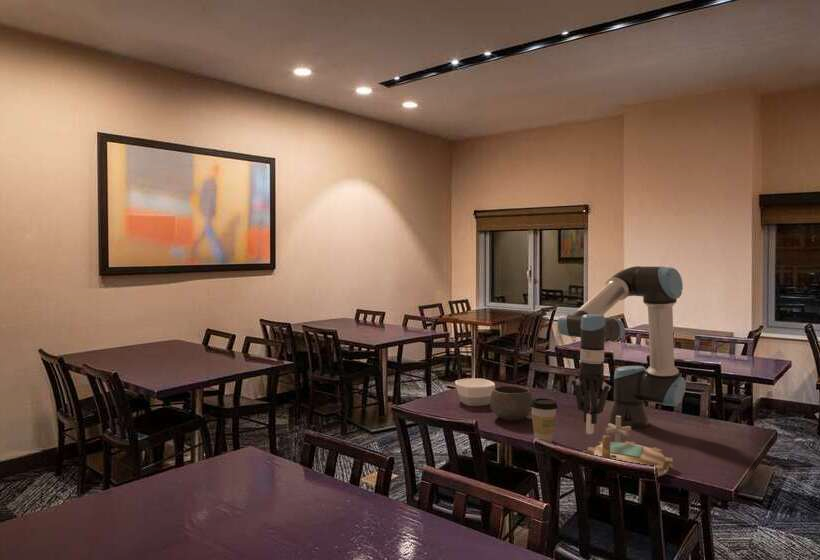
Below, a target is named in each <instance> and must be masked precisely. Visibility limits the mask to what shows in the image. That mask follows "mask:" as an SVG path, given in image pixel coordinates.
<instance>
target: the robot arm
mask: <svg viewBox="0 0 820 560" xmlns="http://www.w3.org/2000/svg"><path fill="white" fill-rule="evenodd" d="M683 285H684V284H683V279H682V276H681V274H680V272H679V271H678V270H677V269H675V268H674V267H670V266H669V267H667V266H639V265H637V266H636V265H635V266H631V267H628V268H624V269H623V270H621V271H619V272H617V273H615V274H614V275H612V276H611V277H609V278H608V279H607V281H606V282H605V283H604V286H603V287H602V288H601V289H600V290H599V291H598V292H596V293H595V294H594V295H593V296H592V297H590V298H589V300H587V301H586V302H585V303H584V304H583V305H581V306H580V307H579V308H578V309H577V310H576V311H574V312H573V313H572V314H569V313H568V314H562V315H560V316H559V318H558V320H557V331H558V332H559V334H561V335H562V336H566V337H574V338H580V347H579V348H580V349H579V351H580V352H579V353H580V354H579V359H580V362H579V375H578V377H577V378H576V379H574V380H571V384H572V386H573V389H574V392H575V393H574V394H575V398H576V403H577V408H578V410H579V411H582V412H583V422H584V423H585V434H588V435H592V434H594V433H595V425H596V424H597V422H598V421H597V419H598V414H602V413H603V411H604V410H605V406H606V402H607V398H608V395H609V392H610V390H611V389H612V387H613V403H612V406H611V410H610V413H609V415H608V421H609V423H611V424H613V425H615V426H616V416H621V427H626V426H630V427H631V429H641V428H646V427H648V426H649V417H648V414H647V411H646V407H645V402H648V403H654V404H658V405H663V406H669V407H676V406H678V405H679V404H680V403H681V402H682V400H683V398H684V395H685V392H686V388H687V387H686V386H687V385H686V384H687V382H686V380H685V377H682V376H680V370H679V369H678V368H677V367H676V366H675V345H674V343H675V342H674V316H673V315H674V314H673V313H674V312H673V307H674V305H675V304H677V299H679V298H681V296H682V294H683ZM633 296H634V297H635V296H636V297H642V299H643V304H644V305H646V306H647V315H648V317H647V318H648V340H649V341H648V343H649V364H650V365H649V366H648V368H646V367H645V366H642V365H625V366H624V365H623V366H619V367H616V368H615V369H614V375H613V376H614V377H613V386H612V385H611V384H608V383H607V382H606V380H605V378H604V373H605V372H604V371H605V364H604V361H605V344H606V343H607V342H615V341H617V340H619V339H621V338H623V337H624V335H625V331H626V327H625V324H624V322H623V321H622V320H620V319H619V318H613V317H610V318H609V317H608V318H606V317H605V316H604V315H605V314H606V313H607V312H608V311H609V310H611V309H612V308H613V307H614V306H615V305H616V304H617V303H618V302H619V301H622V300H623V301H624V300H626V299H627V298H628V297H633ZM582 388H583V389H582ZM600 389H602V390H601V392H600ZM599 392H600V397H599Z"/></svg>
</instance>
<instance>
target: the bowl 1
mask: <svg viewBox="0 0 820 560" xmlns="http://www.w3.org/2000/svg"><path fill="white" fill-rule="evenodd" d="M454 385H455V388H456V391H457V394H458V396H459V400H460V402H461V403H462V404H463V405H465V406H468V407H481V406H487V405H490V398H491V394H492V391H493V390H494V388H495V387H496V384H495V382H494V381H493V380H492V381H491V380H489V379H486V378H473V377H472V378H462V379H457V380H455V381H454Z"/></svg>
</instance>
